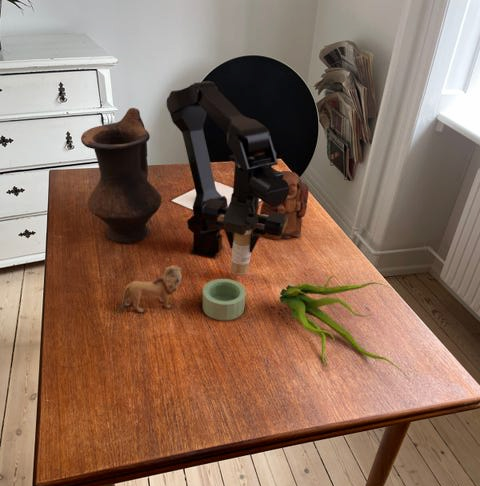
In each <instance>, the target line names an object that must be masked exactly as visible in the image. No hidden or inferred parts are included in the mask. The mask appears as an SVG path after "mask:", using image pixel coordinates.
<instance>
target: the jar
mask: <svg viewBox="0 0 480 486" xmlns="http://www.w3.org/2000/svg"><path fill="white" fill-rule="evenodd" d="M246 294H247V293H246V289H245V287H244V285H242V284H241V282H238V281H236V280H233V279H230V278H215V279H212V280H209V281H208V282H207V283H205V284H204V286H203V288H202V301H201V302H202V303H201V305H202V306H201V308H202V311H203V313H204V314H205V315H206V316H208V317H209V318H211V319H214V320H217V321H232V320H236V319H238V318H239V317H241V315H242V314H243V313H244V311H245V305H246Z"/></svg>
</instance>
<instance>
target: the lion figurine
mask: <svg viewBox="0 0 480 486" xmlns="http://www.w3.org/2000/svg"><path fill="white" fill-rule="evenodd" d="M164 270H165V271H164V272H163V273H161V274H160V275H159V277H158V278H157V279H156V280H150V281H143V280H142V281H141V280H133V281H131V282H129V283H128V284H127V285H126V286H125V287H124V291H123V295H122V302H121V305H120V306H119V308H117V311H118V312H119V311H122V310H123V308H124V306H126V307H127V306H130V305H131V302H130V301H128V300H129V299H130V298H132V300H133V307H134V309H136V311H137V312H138V313H144V308H143V307H139V303H140V301H141V298H142V297H141V296H144V297H147V298H157V297H159V298H158V299H159V301H160V302H161V303H163V305H164V307H165V308H166V309H170V308H171V307H172V305H171V303H169V300H170V295H172V294H174V293H176V292H177V290H178V288H179V286H180V285H181V282H182V280H183V279H182V278H183V274H182V268H181V267H179V266H177V265H174V264H172V265H170V266H167V267H165V269H164Z"/></svg>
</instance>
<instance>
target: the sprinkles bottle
mask: <svg viewBox="0 0 480 486" xmlns="http://www.w3.org/2000/svg"><path fill="white" fill-rule="evenodd" d="M252 232H253V230H249V231H246V233H245V234H244V235H239V234H237V233H234V239H233V248H231V261H230V262H231V263H230V268H229V270H230V272H231V274H234V276H235V275H236V276H238V277H239V276H240V277H242V276H246V275H247V274H248V273H249V271H250V269H249V268H250V267H249V266H250V260H251V255H252V253H250V246H251V241H252V237H253V233H252Z"/></svg>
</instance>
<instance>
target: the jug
mask: <svg viewBox="0 0 480 486" xmlns="http://www.w3.org/2000/svg"><path fill="white" fill-rule="evenodd" d="M150 138H151V135H150V133H149V131H148V130H147V129H146V127H145V125H144V122H143V119H142V117H141V112H140V110H139V108H136V107H129V108H128V110H127V111H126V113H125V115H124V116H123V117H122V118H121V119H120V120H119V121H117V122H112V123H107V124H103V125H97V126H93V127H91V128H89V129H87V130H85V131H84V132H83V133H82V135H81V137H80V141H81V144H83V146H84V147H85V148H88V149H93V150H94V154H95V157H96V160H97V164H98V170H99V173H100V177H99V181H98V182H97V184H96V185H95V187H94V188H93V190H92V191H91V193H90V195H89V197H88V199H87V207H88V209H89V212H90V213H91V214H93V215H94V216H95V217H97V218H99V219H100V220H101V221H102V222H104V224H105V225H106V226H107V227H106V230H105V235H106V237H107V239H109V240H110V241H113V242H115V243H121V244H132V243H135V242H138V241H142V240H144V239H145V238H146V237H148V234H149V229H148V226H147V223H148V222H149V221H150V220H151V219H152V217H153V216H154V215H155V214H156V213H157V212H158V210H159V209H160V208H161V205H162V200H163V199H162V195H161V193H159V191H158V189H156V188H155V186H153V185H152V184H151V183H150V182H149V180H148V177H149V164H148V141H149V140H150Z"/></svg>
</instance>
